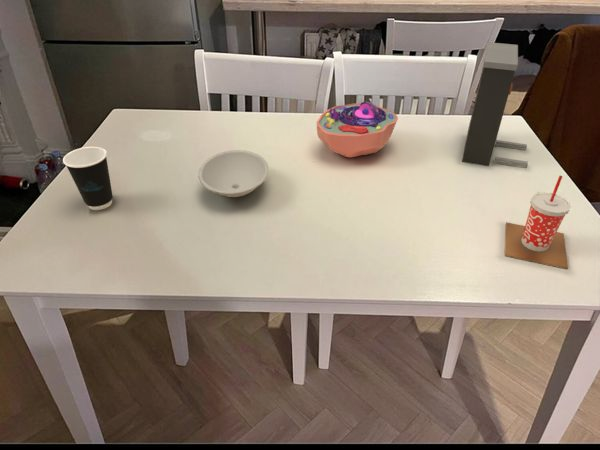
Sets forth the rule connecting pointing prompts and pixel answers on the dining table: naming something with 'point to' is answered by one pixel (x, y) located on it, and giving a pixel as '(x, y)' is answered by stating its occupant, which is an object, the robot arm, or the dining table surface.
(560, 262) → the cork coaster
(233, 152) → the dish
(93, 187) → the dixie cup
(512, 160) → the coffee machine
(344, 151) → the cell model
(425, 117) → the dining table surface
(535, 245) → the beverage cup
